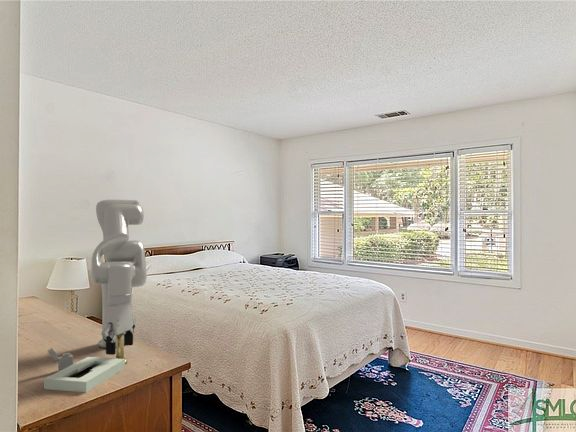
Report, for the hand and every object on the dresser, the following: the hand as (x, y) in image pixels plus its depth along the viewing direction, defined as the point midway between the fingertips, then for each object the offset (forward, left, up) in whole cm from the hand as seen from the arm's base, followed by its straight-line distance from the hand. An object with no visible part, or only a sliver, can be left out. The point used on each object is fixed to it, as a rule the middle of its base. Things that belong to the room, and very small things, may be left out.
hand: (120, 349), depth 126 cm
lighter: (+8, -16, -5) cm, 19 cm away
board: (+12, -3, -5) cm, 13 cm away
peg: (0, 0, -5) cm, 5 cm away
